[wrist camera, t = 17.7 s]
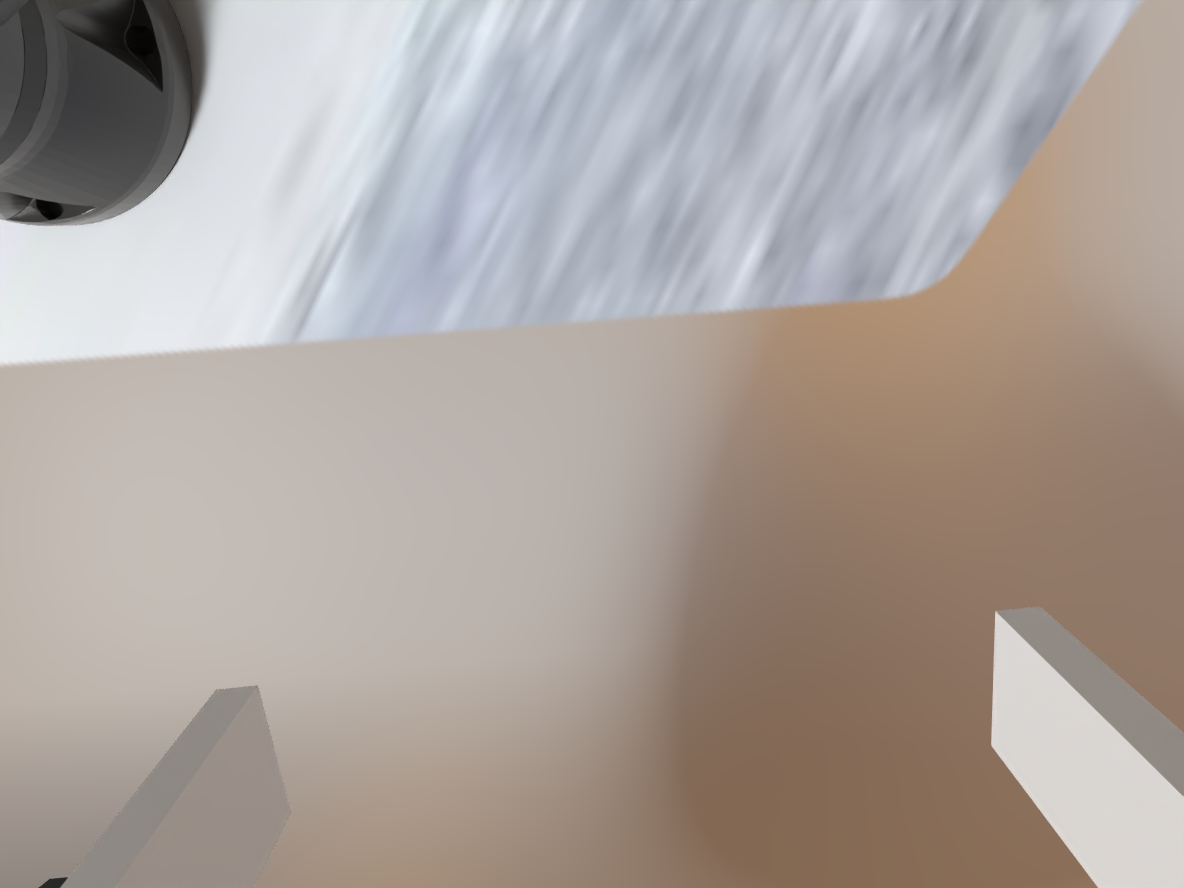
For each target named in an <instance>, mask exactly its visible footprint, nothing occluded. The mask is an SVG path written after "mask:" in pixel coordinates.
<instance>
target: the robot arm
mask: <svg viewBox="0 0 1184 888" xmlns="http://www.w3.org/2000/svg"><path fill="white" fill-rule="evenodd" d="M191 106H192V78H191V69H190V63H189V57H188V52H187V48H186V44H185V41H184V38H183V35H182V31H181V29H180V26H179V23H178V21H177V18H176V16H175V14H174V12H173V10H172V8H171V6H170V4H169V2H168V0H0V219H2V220H6V221H10V222H15V223H21V224H27V225H38V226H61V225H83V224H90V223H95V222H100V221H103V220H107V219H110V218H113V217H115V216H117V215H120V214H122V213H124V212H126V211H128V210H130V209H131V208H133V207H135V206H136V205H138V204H139V203H140V202H142V201H143V200H144V199H146V198H147V197H148V196H149V195H150V194H151V193H152V192H154V191H155V189H156V188H157V187H158V186H159V185H160V184H161V183H162V182H163V180H164V179H165V178H166V176H167V175H168V174H169V172H170V170H171V169H172V167H173V166H174V164H175V162H176V160H177V158H178V156H179V154H180V151H181V149H182V147H183V144H184V141H185V138H186V134H187V130H188V127H189V121H190V115H191ZM993 677H994V678H993V709H992V742H991V743H992V744H991V745H992V747H993V748H994V749H995V751H996V752H997V754H998V755H999V756H1000V758H1001V759H1002V760H1003V761H1004V763H1005V764H1006V766H1007V767H1008V768H1009V770H1010V771H1011V772H1012V774H1013V775H1014V776H1015V777H1016V779H1017V780H1018V782H1019V783H1020V784H1021V785H1022V787H1023V788H1024V790H1025V791H1026V792H1027V793H1028V795H1029V796H1030V798H1031V799H1032V800H1033V801H1034V803H1035V804H1036V805H1037V807H1038V808H1039V810H1040V811H1041V812H1042V813H1043V815H1044V816H1045V817H1046V819H1047V820H1048V821H1049V823H1050V824H1051V825H1052V827H1053V828H1054V829H1055V831H1056V832H1057V833H1058V835H1059V836H1060V837H1061V839H1062V840H1063V841H1064V843H1065V844H1066V845H1067V847H1068V848H1069V849H1070V851H1071V852H1072V853H1073V855H1074V856H1075V857H1076V859H1077V860H1078V861H1079V863H1080V864H1081V865H1082V867H1083V868H1084V869H1085V871H1086V872H1087V873H1088V875H1089V876H1090V877H1091V879H1092V880H1093V881H1094V883H1095V884H1096V885H1097V887H1098V888H1184V733H1183V732H1182V731H1181V730H1180V729H1179V728H1177V727H1176V726H1175V725H1174V724H1173V723H1172V722H1170V721H1169V720H1168V719H1167V718H1166V717H1165V716H1164V715H1163V714H1161V713H1160V712H1159V711H1158V710H1157V709H1156V708H1155V707H1153V706H1152V705H1151V704H1150V703H1149V702H1148V701H1147V700H1146V699H1144V698H1143V697H1142V696H1141V695H1140V694H1139V693H1138V692H1136V691H1135V690H1134V689H1133V688H1132V687H1131V686H1130V685H1128V684H1127V683H1126V682H1125V681H1124V680H1123V679H1122V678H1120V677H1119V676H1118V675H1117V674H1116V673H1115V672H1114V671H1112V670H1111V669H1110V668H1109V667H1108V666H1107V665H1106V664H1105V663H1103V662H1102V661H1101V660H1100V659H1099V658H1098V657H1097V656H1095V655H1094V654H1093V653H1092V652H1091V651H1090V650H1089V649H1087V648H1086V647H1085V646H1084V645H1083V644H1082V643H1081V642H1079V641H1078V640H1077V639H1076V638H1075V637H1074V636H1073V635H1072V634H1070V633H1069V632H1068V631H1067V630H1066V629H1065V628H1064V627H1062V626H1061V625H1060V624H1059V623H1058V622H1057V621H1056V620H1054V619H1053V618H1052V617H1051V616H1050V615H1049V614H1048V613H1046V612H1045V611H1044V610H1043V609H1042V608H1041V607H1032V608H1022V609H1013V610H1002V611H996V613H995V644H994V676H993ZM290 814H291V810H290V806H289V802H288V798H287V795H286V791H285V787H284V783H283V780H282V776H281V772H280V768H279V764H278V760H277V757H276V753H275V749H274V745H273V741H272V737H271V734H270V730H269V726H268V722H267V719H266V715H265V711H264V707H263V703H262V699H261V696H260V692H259V688H258V686H249V687H239V688H229V689H220V690H216V691H215V692H214V693H213V695H212V696H211V697H210V698H209V700H208V701H207V702H206V703H205V705H204V706H203V707H202V708H201V710H200V711H199V712H198V713H197V715H196V716H195V717H194V719H193V720H192V721H191V722H190V724H189V725H188V726H187V727H186V729H185V730H184V731H183V732H182V734H181V735H180V736H179V738H178V739H177V740H176V741H175V743H174V744H173V745H172V746H171V748H170V749H169V751H168V752H167V753H166V754H165V755H164V757H163V758H162V759H161V761H160V762H159V763H158V764H157V765H156V767H155V768H154V769H153V771H152V772H151V773H150V774H149V776H148V777H147V778H146V779H145V781H144V782H143V783H142V785H141V786H140V787H139V788H138V790H137V791H136V792H135V793H134V795H133V796H132V797H131V799H130V800H129V801H128V802H127V804H126V805H125V806H124V808H123V809H122V810H121V811H120V812H119V814H118V815H117V816H116V818H115V819H114V820H113V821H112V823H111V824H110V825H109V826H108V828H107V829H106V830H105V831H104V833H103V834H102V835H101V837H100V838H99V839H98V840H97V842H96V843H95V844H94V846H93V847H92V848H91V850H90V851H89V852H88V853H87V854H86V856H85V857H84V858H83V860H82V861H81V862H80V863H79V865H78V866H77V867H76V868H75V870H74V871H73V872H72V874H71V875H70V876H69V877H67V878H55V879H49V880H48V881H47V882H45V883H44V884H43V885H42V886H40V887H39V888H254V886H255V884H256V882H257V880H258V878H259V876H260V874H261V872H262V870H263V868H264V866H265V864H266V862H267V860H268V858H269V856H270V854H271V851H272V850H273V848H274V846H275V844H276V842H277V840H278V838H279V836H280V834H281V832H282V830H283V828H284V826H285V824H286V822H287V820H288V818H289V816H290Z"/></svg>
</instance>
